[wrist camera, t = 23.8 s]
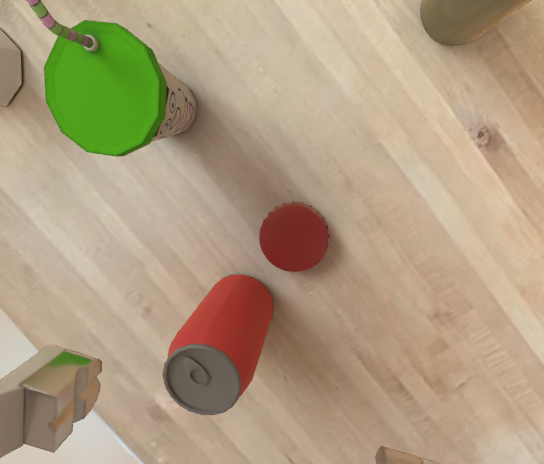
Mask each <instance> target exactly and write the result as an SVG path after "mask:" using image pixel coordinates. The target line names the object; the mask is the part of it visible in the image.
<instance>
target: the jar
mask: <svg viewBox="0 0 544 464" xmlns="http://www.w3.org/2000/svg"><path fill="white" fill-rule="evenodd" d="M531 1H532V0H422V2H421V19H422V23H423V26H424V28H425V30H426V31H427V33H428V34H429V35H430V36H431V37H432V38H433V39H434V40H436V41H438V42H440V43H442V44H446V45H462V44H466V43H469V42H471V41H473V40H475V39H477V38H478V37H480V36H481V35H483V34H484V33H486V32H487V31H488V30H490V29H491V28H493V27H494V26H496V25H497V24H499V23H500V22H501V21H503V20H504V19H506V18H507V17H509V16H510V15H512V14H513V13H515V12H516V11H517V10H519V9H520V8H522V7H523V6H525V5H526V4H528V3H529V2H531Z"/></svg>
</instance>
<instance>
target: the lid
mask: <svg viewBox="0 0 544 464" xmlns="http://www.w3.org/2000/svg"><path fill="white" fill-rule="evenodd" d="M328 238H329V234H328V226H327V225H326V222H325V220H324V218H323V217H322V216H321V214H320V213H319V211H317V210H315V209H314V208H312V206H309V205H306V204H303V202H302V203H297V202H292V203H284V204H283V205H281V206H279V207H278V206H277V207H276V208H275V209H274V210H273V211H272V212H270V213H269V214H268V217H267V218H266V219H265V220H264V221H263V224H262V227H261V229H260V245H261V249H262V251H263V253H264V255H265V256H266V258H267V259H268V260H269V261H270V262H271V263H272V264H273V265H275V266H276V267H278V268H280V269H282V270H285V271H290V272H299V271H304V270H307V269H309V268H312V267H313V266H315V265H316V264H317V263H318V262H319V261H320V260H321V259H322V258H323V256H324V255H325V252H326V250H327V247H328Z"/></svg>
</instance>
